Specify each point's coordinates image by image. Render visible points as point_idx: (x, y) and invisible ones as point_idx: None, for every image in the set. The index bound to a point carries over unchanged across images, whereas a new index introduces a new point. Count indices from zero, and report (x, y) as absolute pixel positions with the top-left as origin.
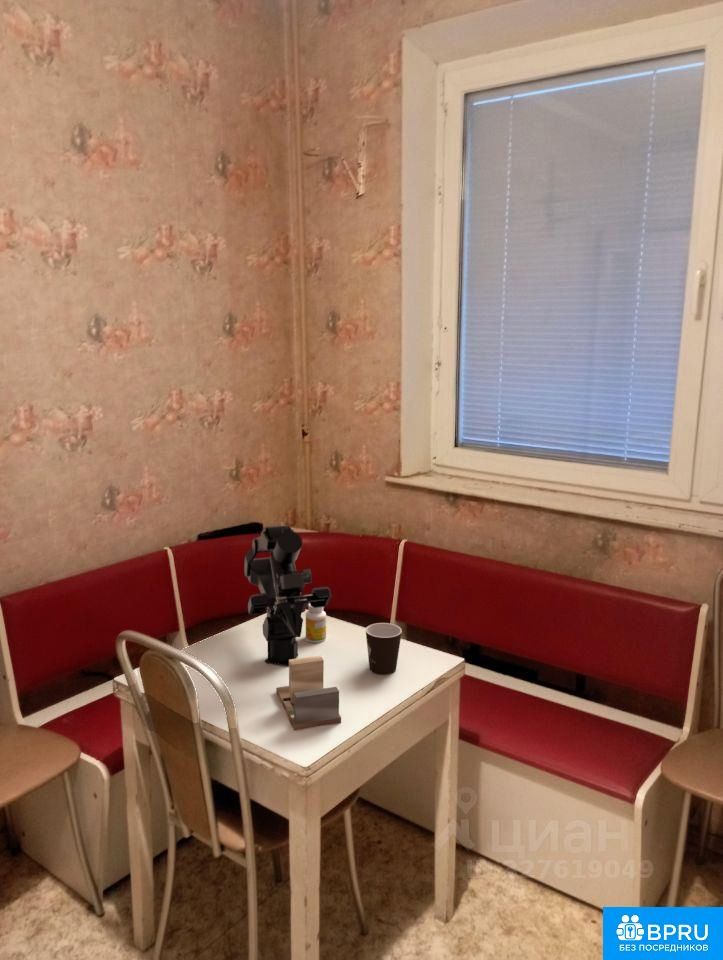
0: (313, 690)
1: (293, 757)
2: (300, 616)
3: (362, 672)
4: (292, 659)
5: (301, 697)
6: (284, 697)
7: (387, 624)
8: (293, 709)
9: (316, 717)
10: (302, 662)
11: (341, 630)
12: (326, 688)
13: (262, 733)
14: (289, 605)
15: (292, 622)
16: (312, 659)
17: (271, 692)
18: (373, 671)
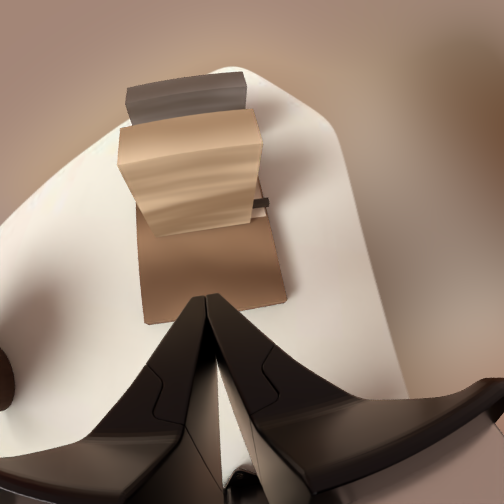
0: (191, 90)
1: (250, 74)
2: (133, 383)
3: (30, 377)
4: (246, 142)
5: (229, 73)
6: (262, 237)
7: None
8: None
9: None
10: (207, 117)
11: None
12: (153, 96)
13: (308, 133)
14: (301, 452)
15: (234, 336)
16: (160, 135)
17: (298, 306)
18: (7, 362)
